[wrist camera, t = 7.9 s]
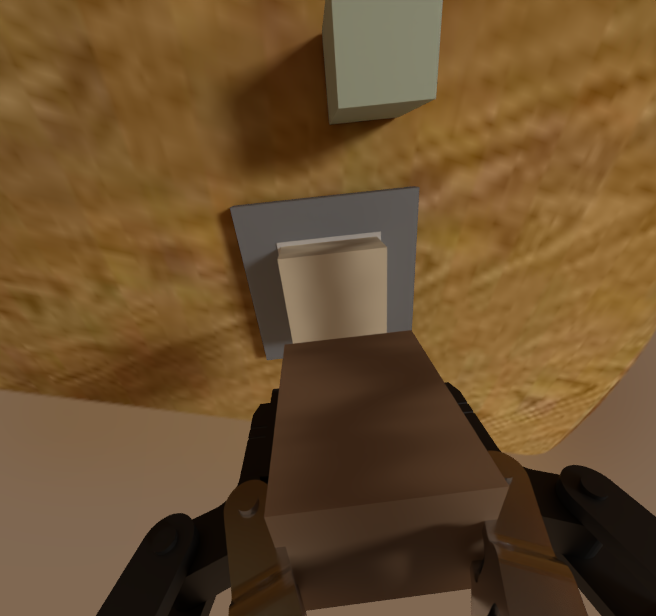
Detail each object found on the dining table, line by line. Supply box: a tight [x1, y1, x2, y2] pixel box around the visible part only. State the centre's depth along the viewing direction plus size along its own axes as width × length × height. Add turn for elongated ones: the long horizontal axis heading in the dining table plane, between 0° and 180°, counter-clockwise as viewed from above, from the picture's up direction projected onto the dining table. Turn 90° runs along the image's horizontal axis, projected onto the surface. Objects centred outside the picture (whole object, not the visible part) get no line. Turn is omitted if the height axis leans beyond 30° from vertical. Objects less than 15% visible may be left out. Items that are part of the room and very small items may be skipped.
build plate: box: [230, 186, 419, 360], centre depth 22 cm, size 13×13×1 cm
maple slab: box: [277, 236, 387, 344], centre depth 21 cm, size 7×7×3 cm
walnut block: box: [264, 330, 509, 611], centre depth 9 cm, size 5×5×6 cm
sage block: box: [322, 0, 443, 125], centre depth 14 cm, size 4×4×6 cm
